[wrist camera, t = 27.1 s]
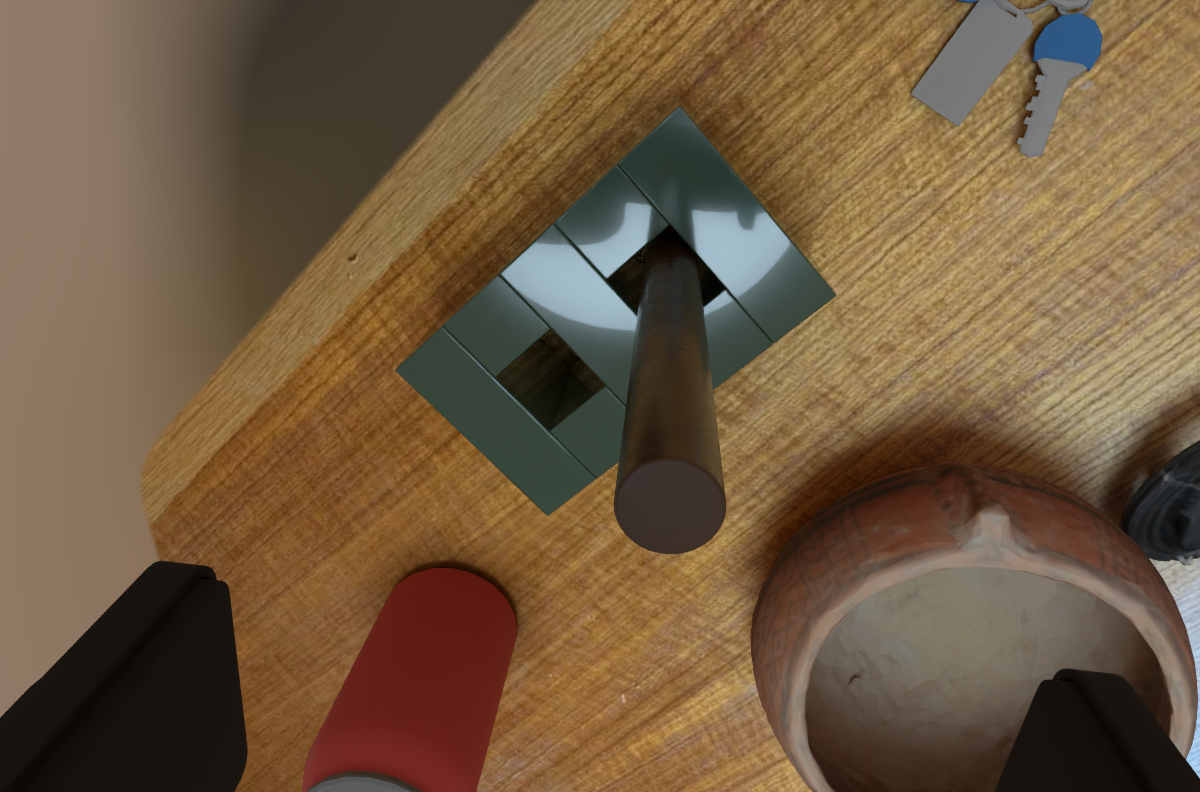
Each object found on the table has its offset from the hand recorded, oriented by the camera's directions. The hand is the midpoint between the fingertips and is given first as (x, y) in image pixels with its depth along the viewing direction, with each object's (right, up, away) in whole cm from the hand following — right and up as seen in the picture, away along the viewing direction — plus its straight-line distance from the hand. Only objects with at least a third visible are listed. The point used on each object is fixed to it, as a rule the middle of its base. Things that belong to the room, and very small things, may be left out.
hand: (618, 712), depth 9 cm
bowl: (+14, -4, +27) cm, 31 cm away
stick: (+3, +10, +22) cm, 24 cm away
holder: (0, +8, +23) cm, 24 cm away
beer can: (-7, -7, +30) cm, 32 cm away
